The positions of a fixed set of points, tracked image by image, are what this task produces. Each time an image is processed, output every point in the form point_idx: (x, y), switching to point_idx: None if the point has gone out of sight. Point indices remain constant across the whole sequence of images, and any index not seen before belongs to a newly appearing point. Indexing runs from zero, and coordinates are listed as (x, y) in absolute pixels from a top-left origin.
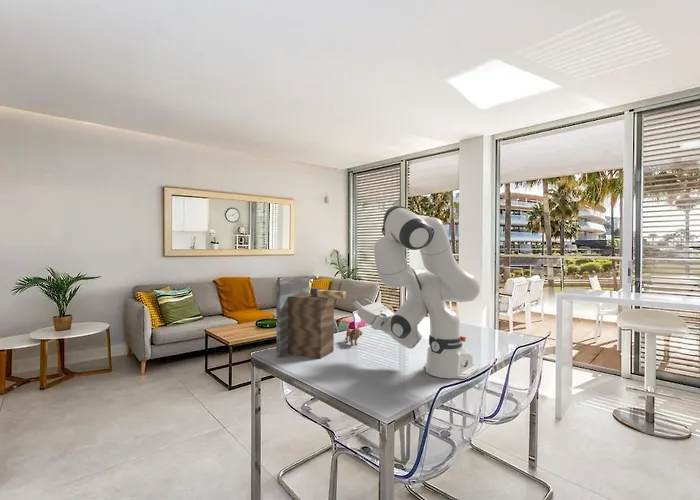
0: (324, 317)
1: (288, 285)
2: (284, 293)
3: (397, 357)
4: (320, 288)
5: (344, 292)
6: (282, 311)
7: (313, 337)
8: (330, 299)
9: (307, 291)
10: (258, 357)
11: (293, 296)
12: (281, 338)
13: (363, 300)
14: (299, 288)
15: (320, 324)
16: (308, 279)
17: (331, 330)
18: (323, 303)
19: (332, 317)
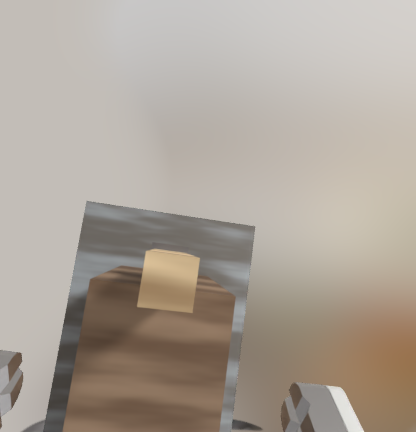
0: (113, 395)
1: (129, 229)
2: (102, 249)
3: None
4: (186, 247)
5: (171, 260)
6: (80, 307)
7: None
8: (196, 308)
9: (239, 277)
10: (30, 427)
11: (129, 267)
12: (56, 401)
13: (291, 404)
14: (191, 254)
15: (63, 426)
16: (249, 237)
17: None
18: (115, 311)
19: (206, 420)
